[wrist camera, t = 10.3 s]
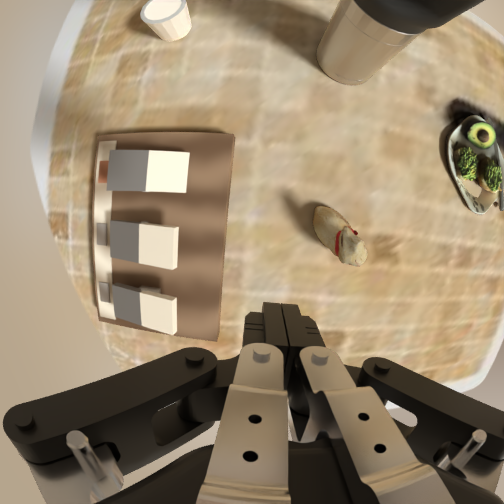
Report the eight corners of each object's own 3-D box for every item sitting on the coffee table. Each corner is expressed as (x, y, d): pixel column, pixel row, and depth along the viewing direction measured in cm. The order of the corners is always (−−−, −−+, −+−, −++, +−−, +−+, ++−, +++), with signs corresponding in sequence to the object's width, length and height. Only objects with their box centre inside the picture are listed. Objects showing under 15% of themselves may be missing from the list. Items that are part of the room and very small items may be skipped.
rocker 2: (119, 280, 36) (111, 284, 34) (178, 295, 34) (172, 300, 32) (121, 313, 37) (114, 317, 36) (178, 330, 35) (173, 335, 34)
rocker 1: (112, 150, 29) (110, 148, 28) (188, 153, 33) (189, 151, 31) (109, 191, 30) (106, 191, 29) (184, 193, 34) (185, 193, 32)
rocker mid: (117, 218, 34) (110, 219, 32) (180, 225, 32) (174, 227, 30) (117, 255, 35) (110, 257, 33) (178, 267, 33) (172, 270, 32)
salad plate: (512, 189, 35) (527, 191, 31) (473, 237, 38) (488, 242, 34) (477, 105, 32) (492, 101, 28) (431, 144, 35) (447, 141, 30)
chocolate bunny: (317, 260, 39) (336, 284, 29) (310, 207, 37) (328, 213, 28) (353, 254, 39) (380, 274, 29) (346, 201, 37) (375, 206, 27)
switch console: (107, 138, 35) (92, 133, 31) (235, 138, 35) (232, 131, 31) (107, 313, 42) (94, 324, 37) (219, 331, 42) (215, 347, 37)
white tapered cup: (195, 40, 32) (184, 17, 25) (153, 48, 32) (137, 28, 25) (196, 10, 30) (187, -13, 23) (156, 18, 30) (142, -2, 23)
